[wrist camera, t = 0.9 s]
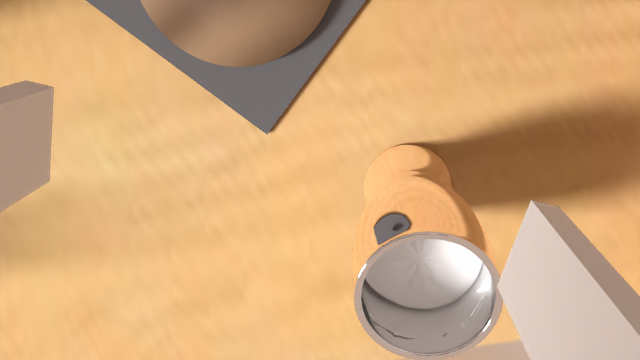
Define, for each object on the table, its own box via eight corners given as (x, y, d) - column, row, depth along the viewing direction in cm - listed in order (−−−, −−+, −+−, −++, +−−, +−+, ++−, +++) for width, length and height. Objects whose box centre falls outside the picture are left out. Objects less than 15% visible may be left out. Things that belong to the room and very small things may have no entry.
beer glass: (409, 116, 36) (433, 195, 22) (478, 186, 37) (542, 303, 23) (337, 184, 38) (316, 295, 24) (404, 248, 39) (422, 390, 25)
